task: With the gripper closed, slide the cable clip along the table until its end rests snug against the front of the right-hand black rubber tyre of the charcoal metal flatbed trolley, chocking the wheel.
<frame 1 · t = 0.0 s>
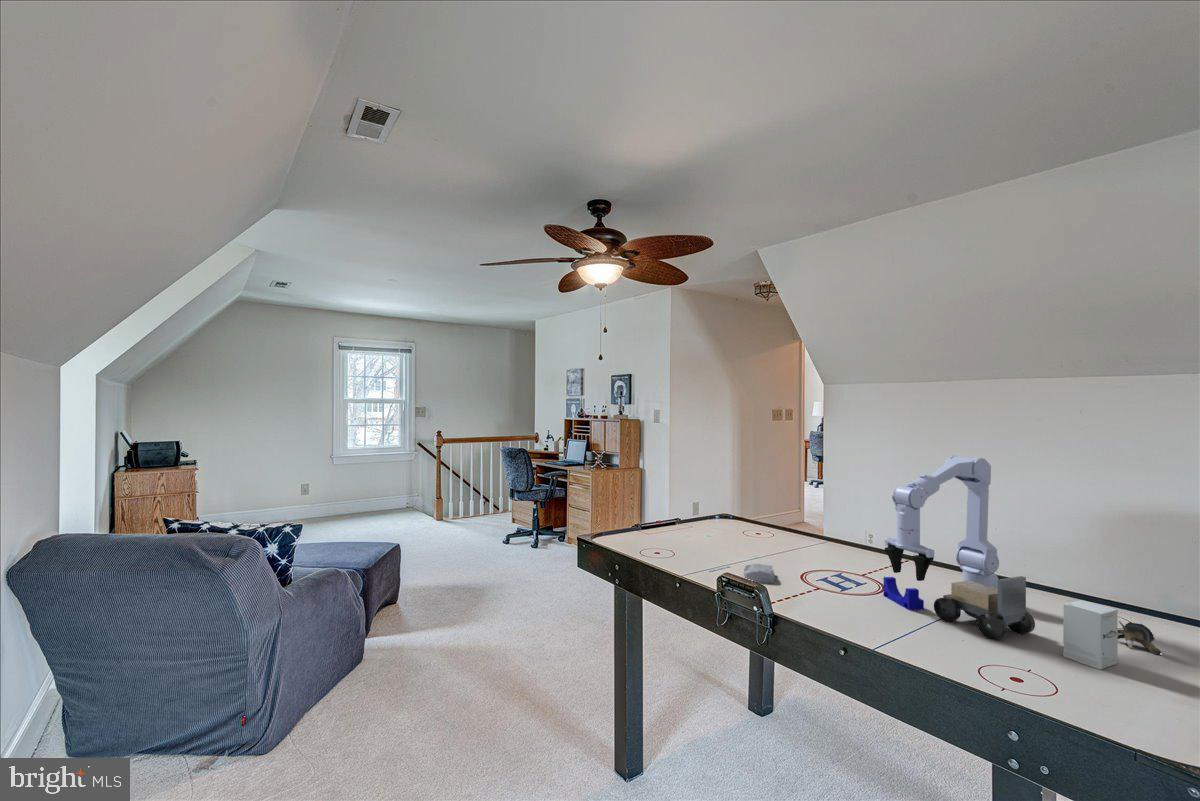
hand: (908, 576, 153), 10 cm above the table, tool pointing down, fingers open, 7 cm apart
stone block: (758, 578, 183), on the table
cable clip: (902, 603, 160), on the table
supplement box: (1090, 661, 124), on the table
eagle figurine: (1134, 648, 131), on the table
trolley: (982, 626, 143), on the table
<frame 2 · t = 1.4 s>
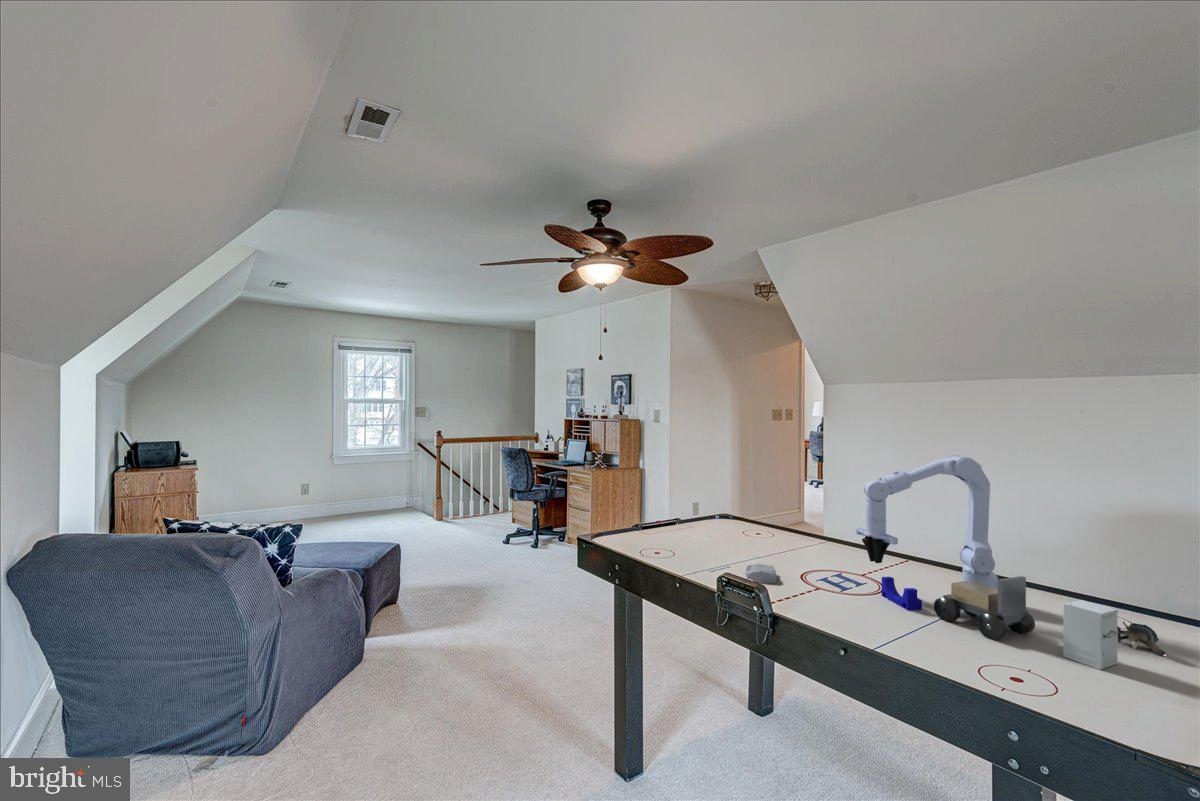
hand: (875, 561, 170), 9 cm above the table, tool pointing down, fingers closed
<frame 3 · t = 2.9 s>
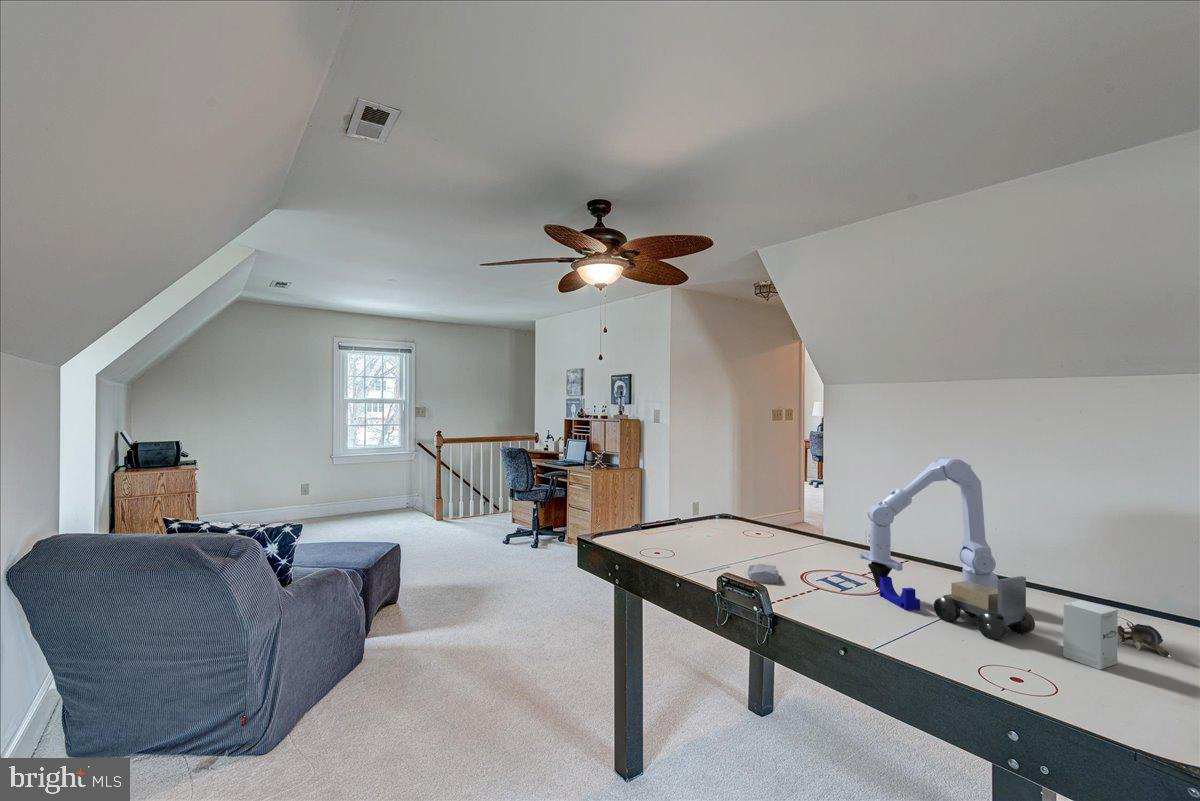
hand: (880, 587, 168), 2 cm above the table, tool pointing down, fingers closed
cable clip: (899, 603, 160), on the table, touching gripper
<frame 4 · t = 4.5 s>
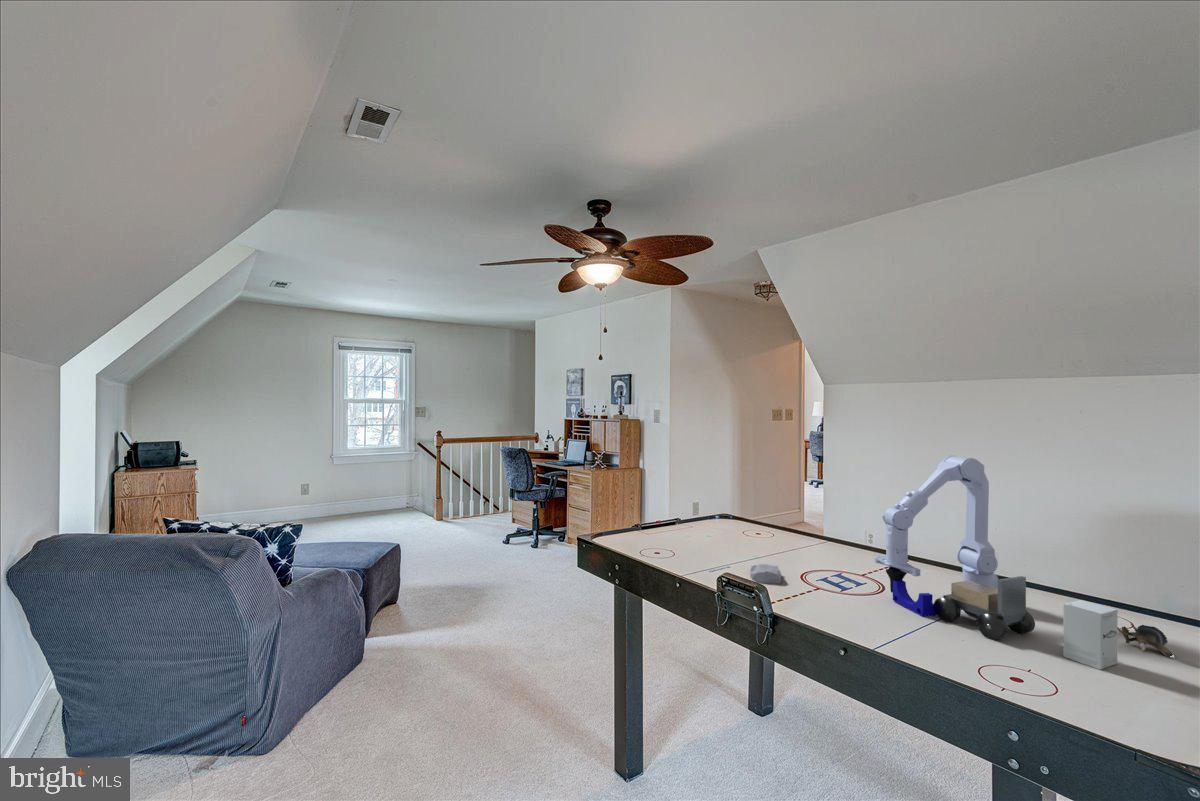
hand: (896, 593, 162), 2 cm above the table, tool pointing down, fingers closed, pressing on cable clip
cable clip: (913, 608, 156), on the table, touching gripper, trolley
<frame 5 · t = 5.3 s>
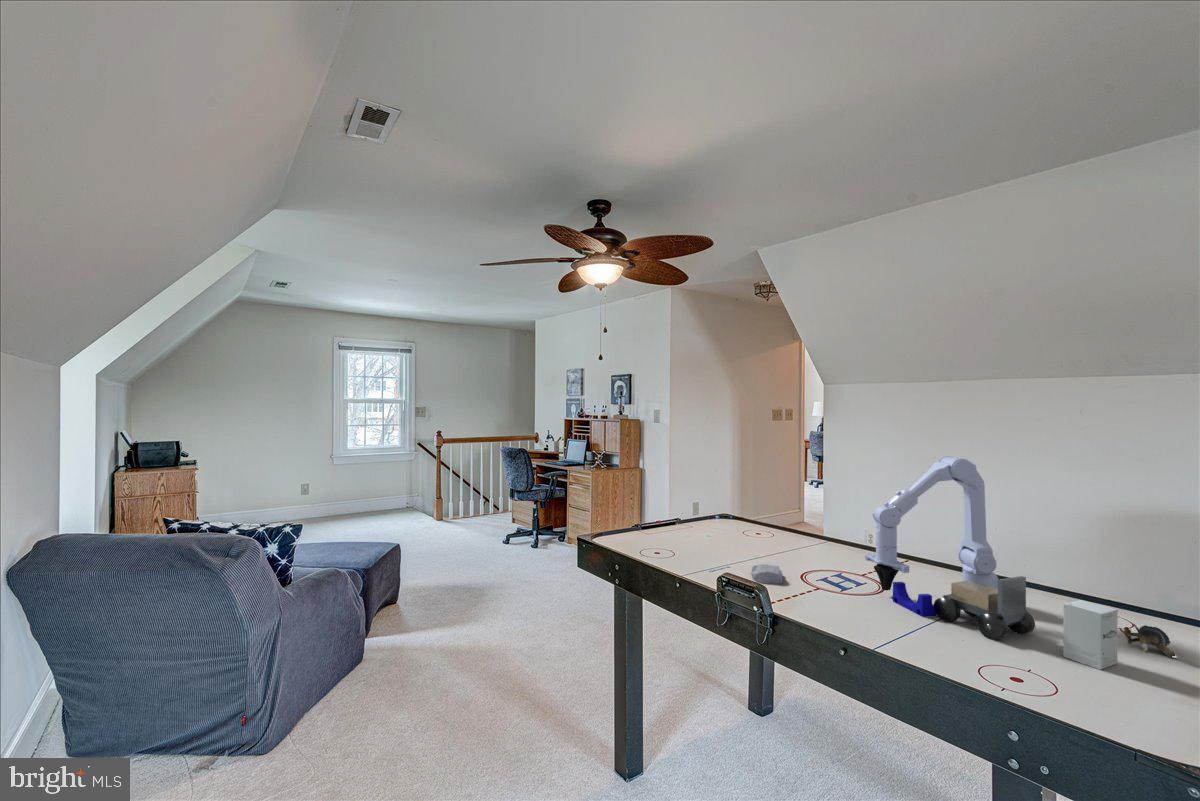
hand: (886, 589, 166), 2 cm above the table, tool pointing down, fingers closed
cable clip: (913, 609, 156), on the table
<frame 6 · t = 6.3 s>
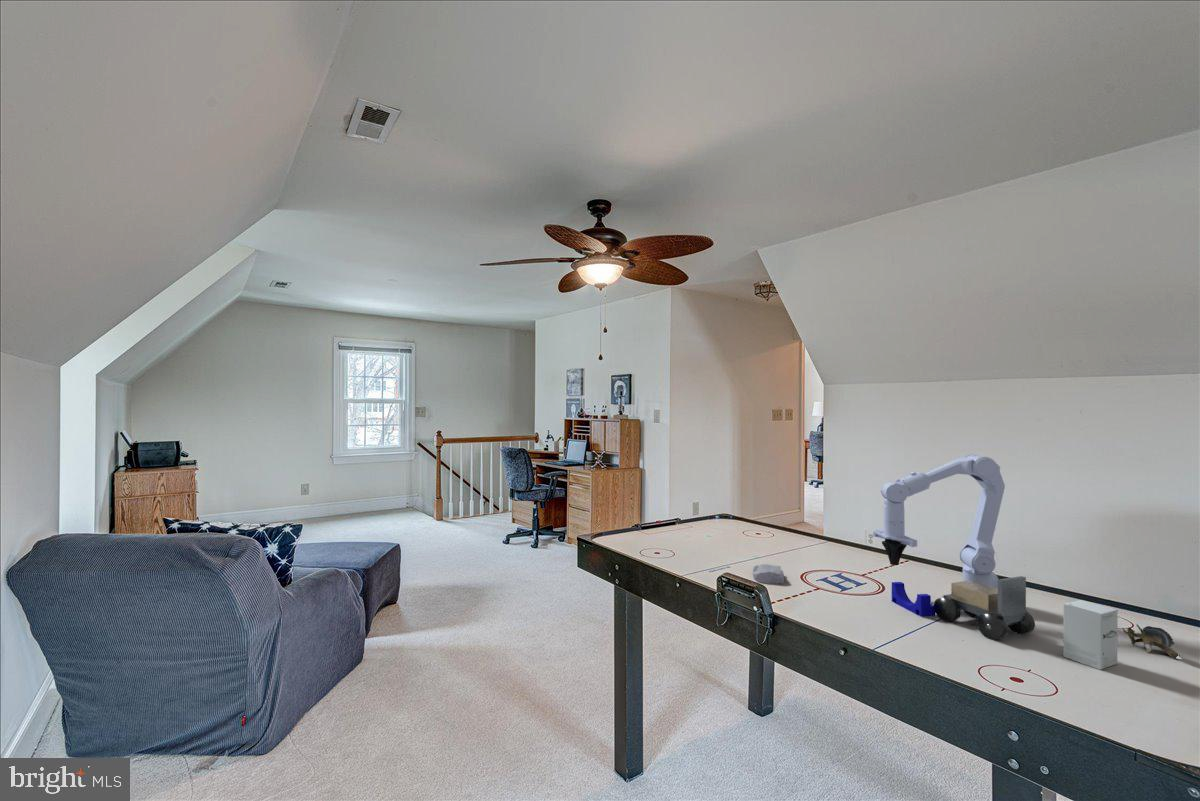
hand: (894, 564, 168), 9 cm above the table, tool pointing down, fingers closed
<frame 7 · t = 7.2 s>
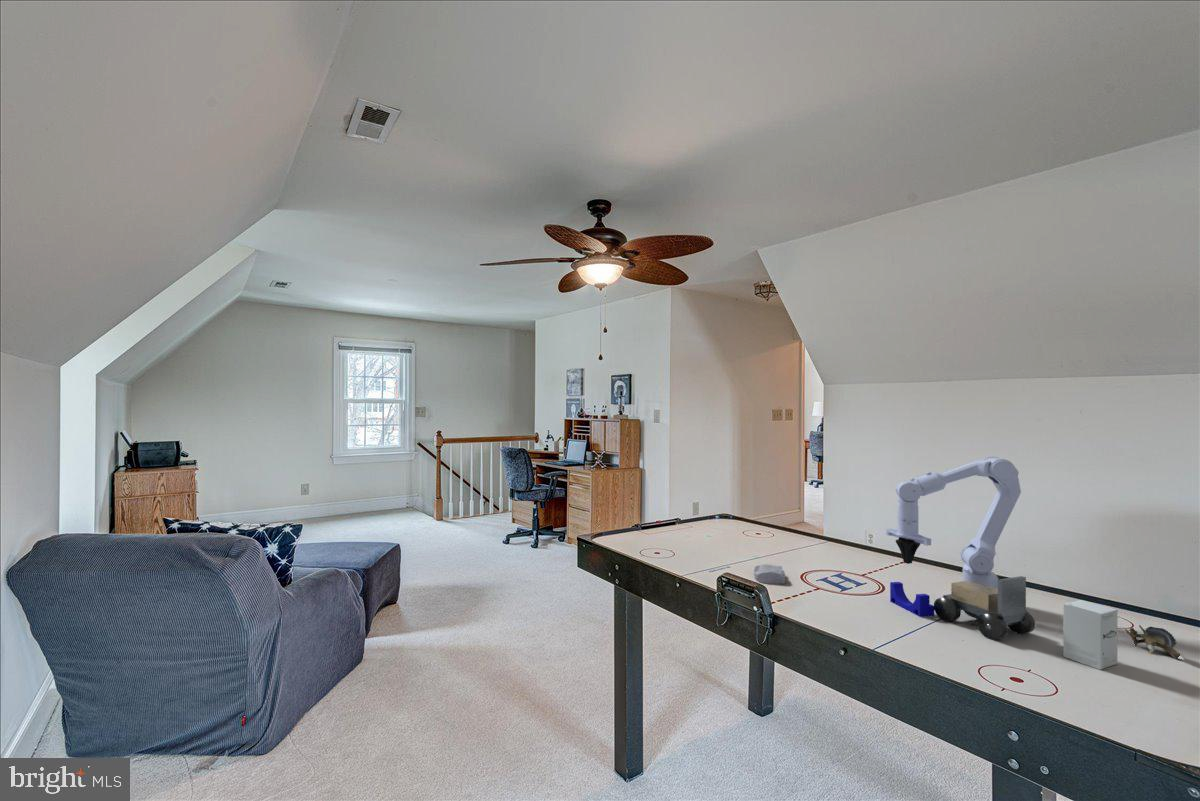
hand: (907, 562, 169), 9 cm above the table, tool pointing down, fingers closed
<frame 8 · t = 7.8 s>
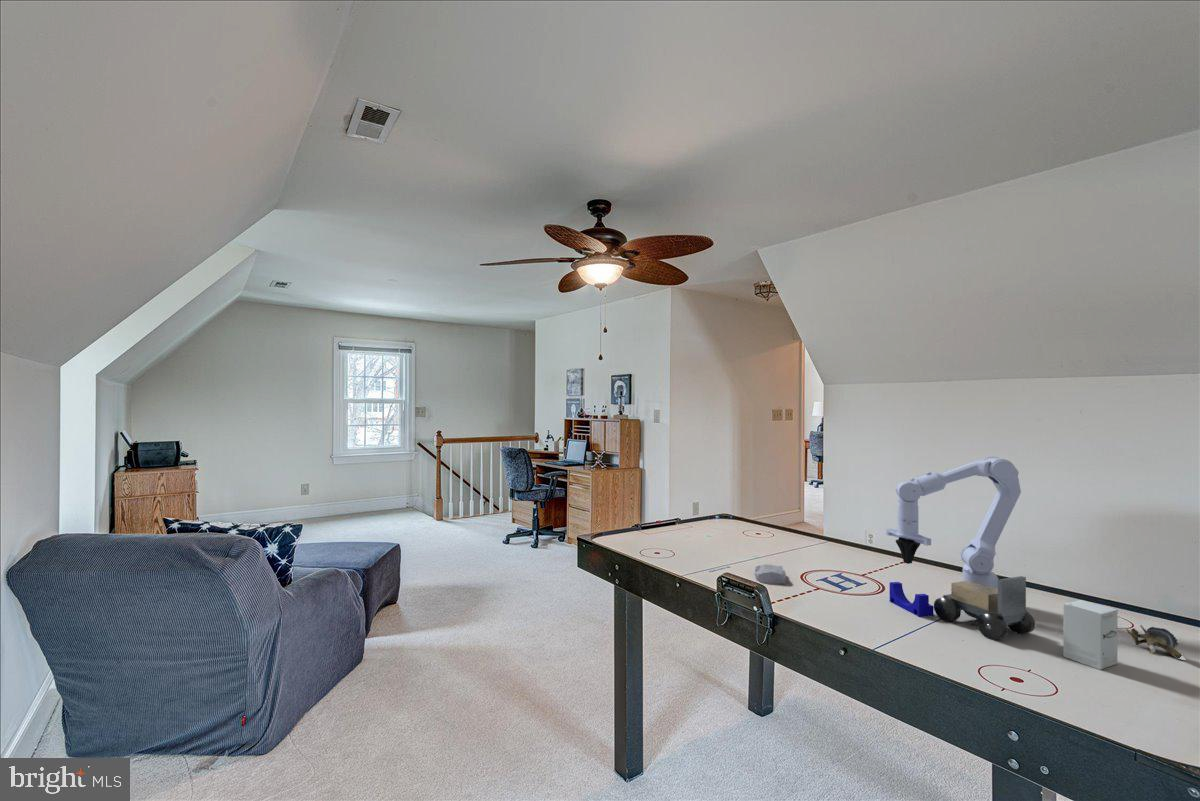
hand: (907, 562, 169), 9 cm above the table, tool pointing down, fingers closed
at the end: cable clip 2.2 cm from the target spot, on the table; cable clip tilted 0°; cable clip moved 4.8 cm from its start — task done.
